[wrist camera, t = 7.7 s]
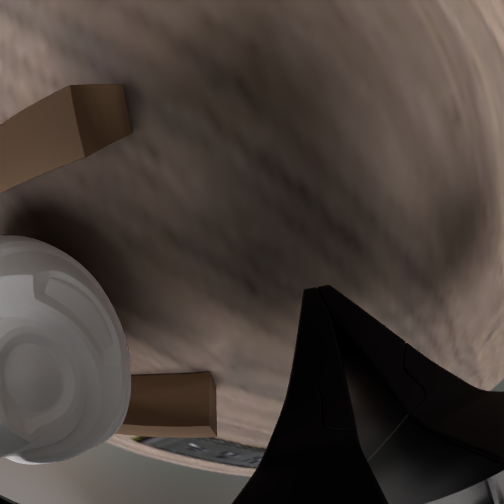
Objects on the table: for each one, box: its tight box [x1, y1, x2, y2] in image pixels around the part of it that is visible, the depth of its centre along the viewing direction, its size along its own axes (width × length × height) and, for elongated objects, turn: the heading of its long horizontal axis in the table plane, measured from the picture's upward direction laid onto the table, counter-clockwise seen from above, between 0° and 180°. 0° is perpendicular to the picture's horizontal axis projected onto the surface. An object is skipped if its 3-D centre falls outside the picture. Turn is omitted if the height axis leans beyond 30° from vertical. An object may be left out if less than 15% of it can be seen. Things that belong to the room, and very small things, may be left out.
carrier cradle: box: [0, 84, 217, 438], centre depth 7 cm, size 14×16×6 cm
